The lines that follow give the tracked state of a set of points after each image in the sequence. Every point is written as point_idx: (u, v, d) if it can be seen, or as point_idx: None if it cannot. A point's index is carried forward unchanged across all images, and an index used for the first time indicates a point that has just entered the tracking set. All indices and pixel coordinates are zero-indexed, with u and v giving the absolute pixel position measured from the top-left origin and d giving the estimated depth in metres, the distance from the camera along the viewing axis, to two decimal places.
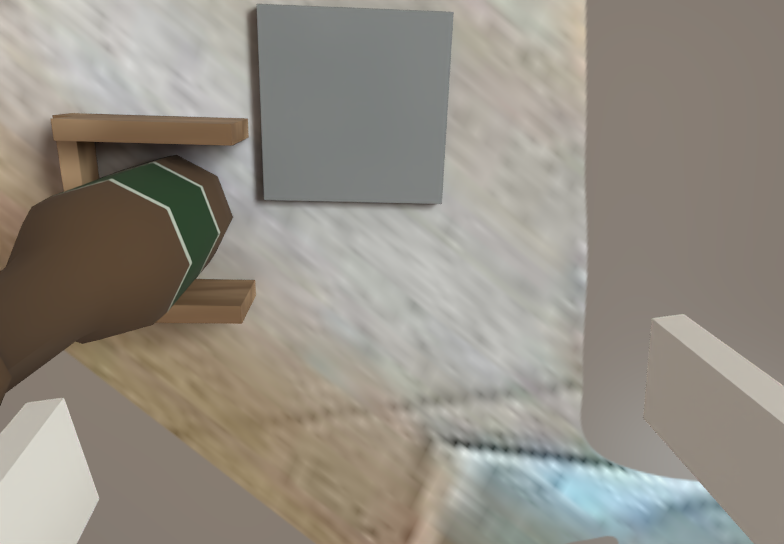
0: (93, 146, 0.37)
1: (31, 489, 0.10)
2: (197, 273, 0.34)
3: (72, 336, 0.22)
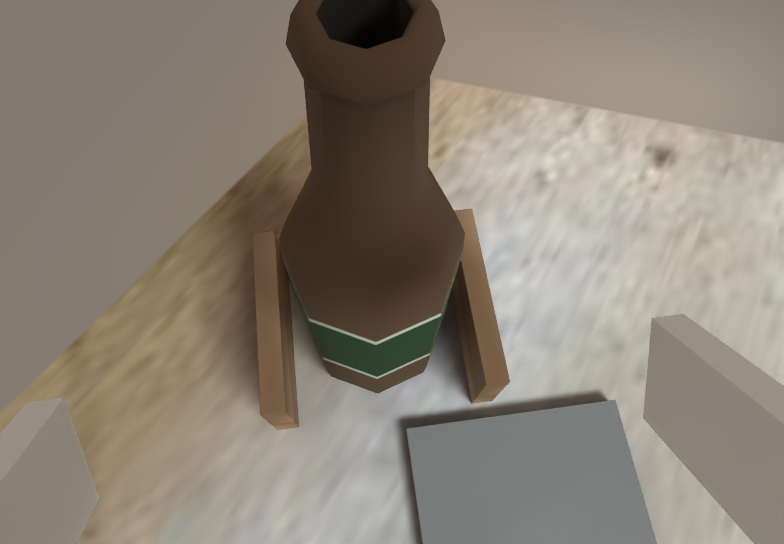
0: None
1: (31, 489, 0.10)
2: (329, 354, 0.28)
3: (343, 198, 0.17)
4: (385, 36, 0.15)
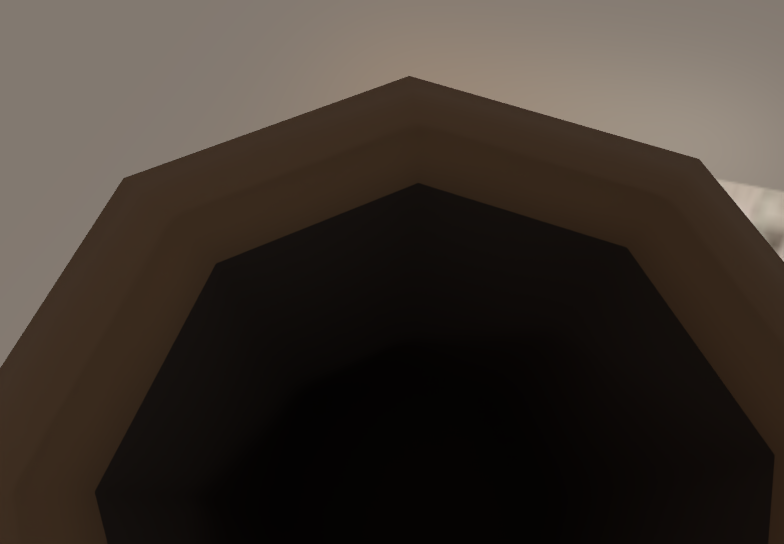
0: None
1: None
2: None
3: None
4: (488, 351, 0.04)
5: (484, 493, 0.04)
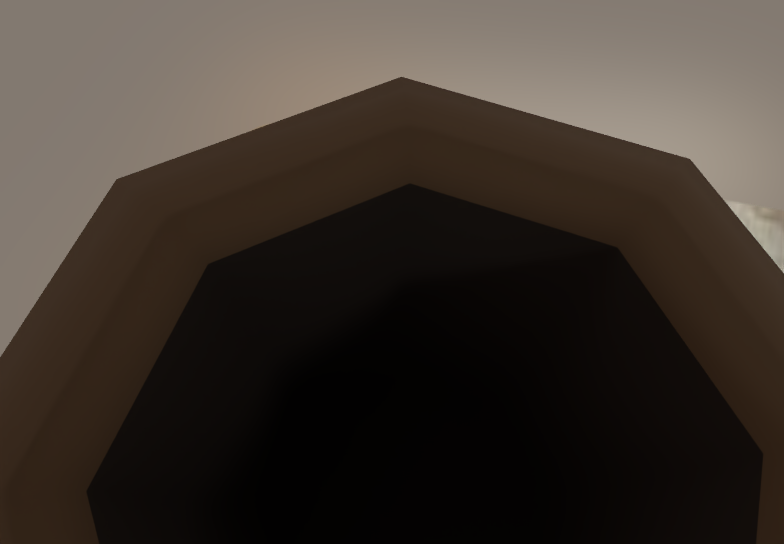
0: None
1: None
2: None
3: None
4: (482, 351, 0.04)
5: (479, 493, 0.04)
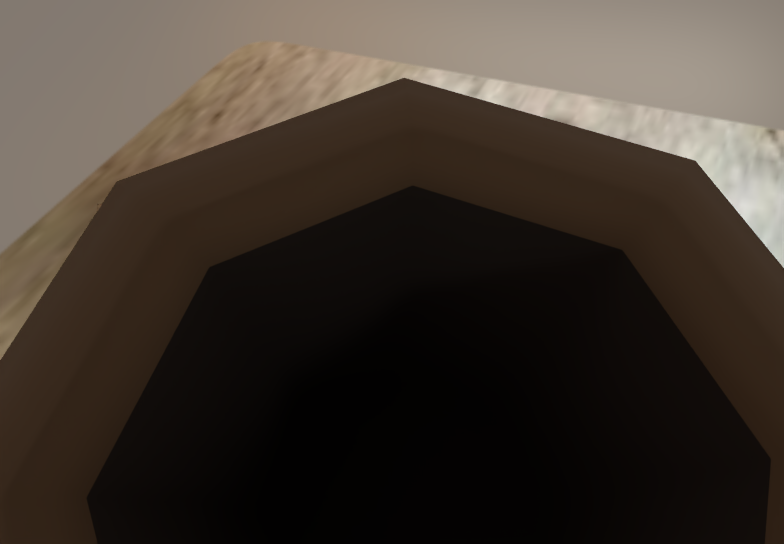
0: None
1: None
2: None
3: None
4: (485, 353, 0.04)
5: (482, 495, 0.04)
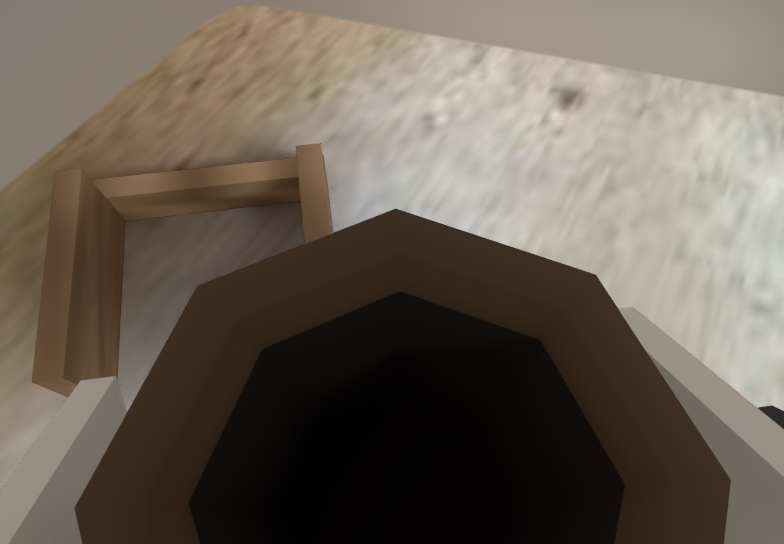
0: (292, 199, 0.32)
1: (92, 459, 0.11)
2: None
3: None
4: (457, 393, 0.05)
5: (455, 503, 0.05)
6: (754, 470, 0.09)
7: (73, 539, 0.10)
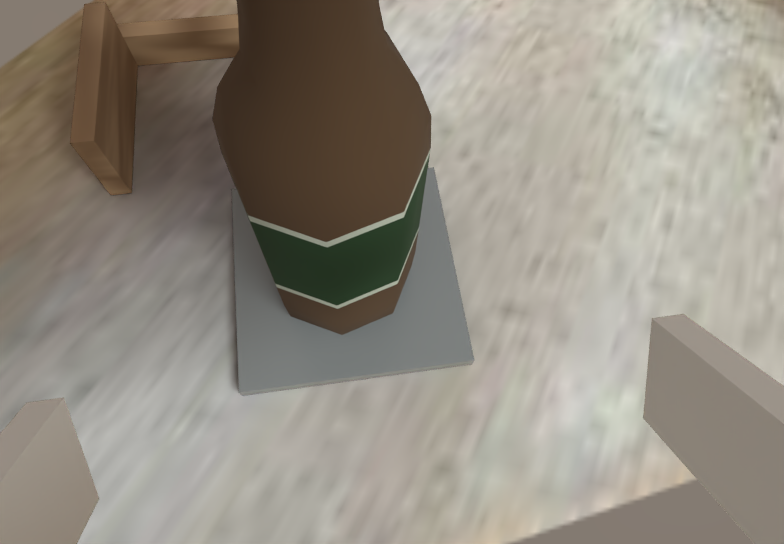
0: None
1: (31, 489, 0.10)
2: (282, 277, 0.25)
3: (269, 19, 0.14)
4: None
5: None
6: None
7: None
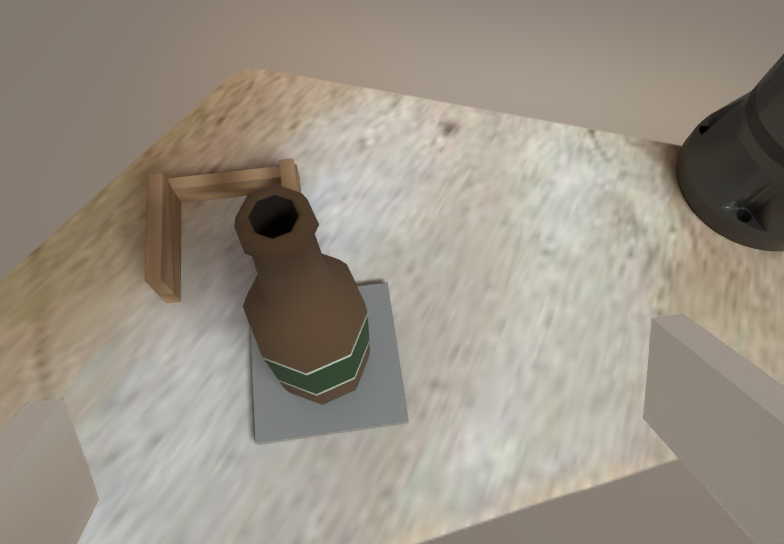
0: None
1: (31, 489, 0.10)
2: (282, 379, 0.40)
3: (274, 294, 0.30)
4: (290, 216, 0.27)
5: None
6: None
7: None
